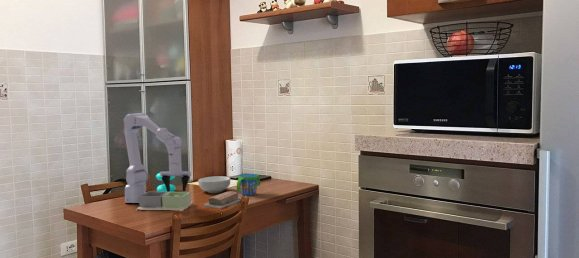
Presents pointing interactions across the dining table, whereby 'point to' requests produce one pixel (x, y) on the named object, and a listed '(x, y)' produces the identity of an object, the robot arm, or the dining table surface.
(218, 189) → the cereal bowl
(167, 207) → the two-tone hollow container
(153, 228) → the dining table surface
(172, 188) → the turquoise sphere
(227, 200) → the packaged product
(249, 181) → the snack cup
